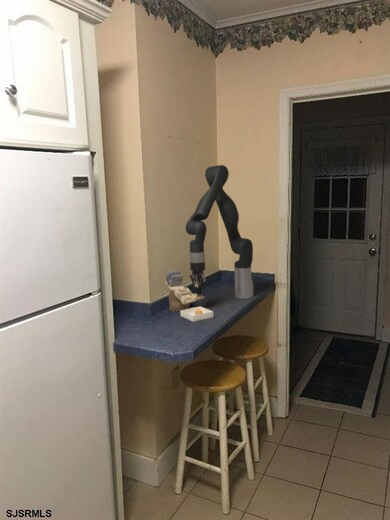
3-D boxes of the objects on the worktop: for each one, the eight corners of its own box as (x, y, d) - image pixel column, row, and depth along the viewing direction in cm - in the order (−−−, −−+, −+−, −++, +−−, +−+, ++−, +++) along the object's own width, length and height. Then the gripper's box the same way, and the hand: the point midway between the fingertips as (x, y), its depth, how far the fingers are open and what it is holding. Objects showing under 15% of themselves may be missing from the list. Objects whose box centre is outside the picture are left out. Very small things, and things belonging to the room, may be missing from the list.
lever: (164, 282, 226) (166, 271, 222) (186, 279, 232) (188, 268, 229) (183, 304, 211) (185, 292, 208) (205, 299, 218) (207, 288, 215)
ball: (199, 312, 209) (201, 307, 207) (202, 317, 207) (204, 312, 205) (193, 313, 207) (195, 308, 205) (196, 318, 205) (198, 313, 203)
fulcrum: (169, 309, 222) (168, 290, 220) (185, 306, 227) (184, 287, 225) (173, 311, 218) (172, 291, 217) (189, 308, 223) (188, 288, 222)
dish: (200, 311, 216) (200, 306, 216) (213, 317, 206) (213, 311, 206) (180, 316, 210) (180, 310, 210) (192, 321, 201) (192, 316, 200)
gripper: (211, 261, 211) (212, 295, 214) (196, 258, 222) (198, 290, 225) (198, 263, 208) (199, 298, 211) (184, 260, 219) (185, 293, 222)
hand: (198, 294), depth 218 cm, fingers closed
